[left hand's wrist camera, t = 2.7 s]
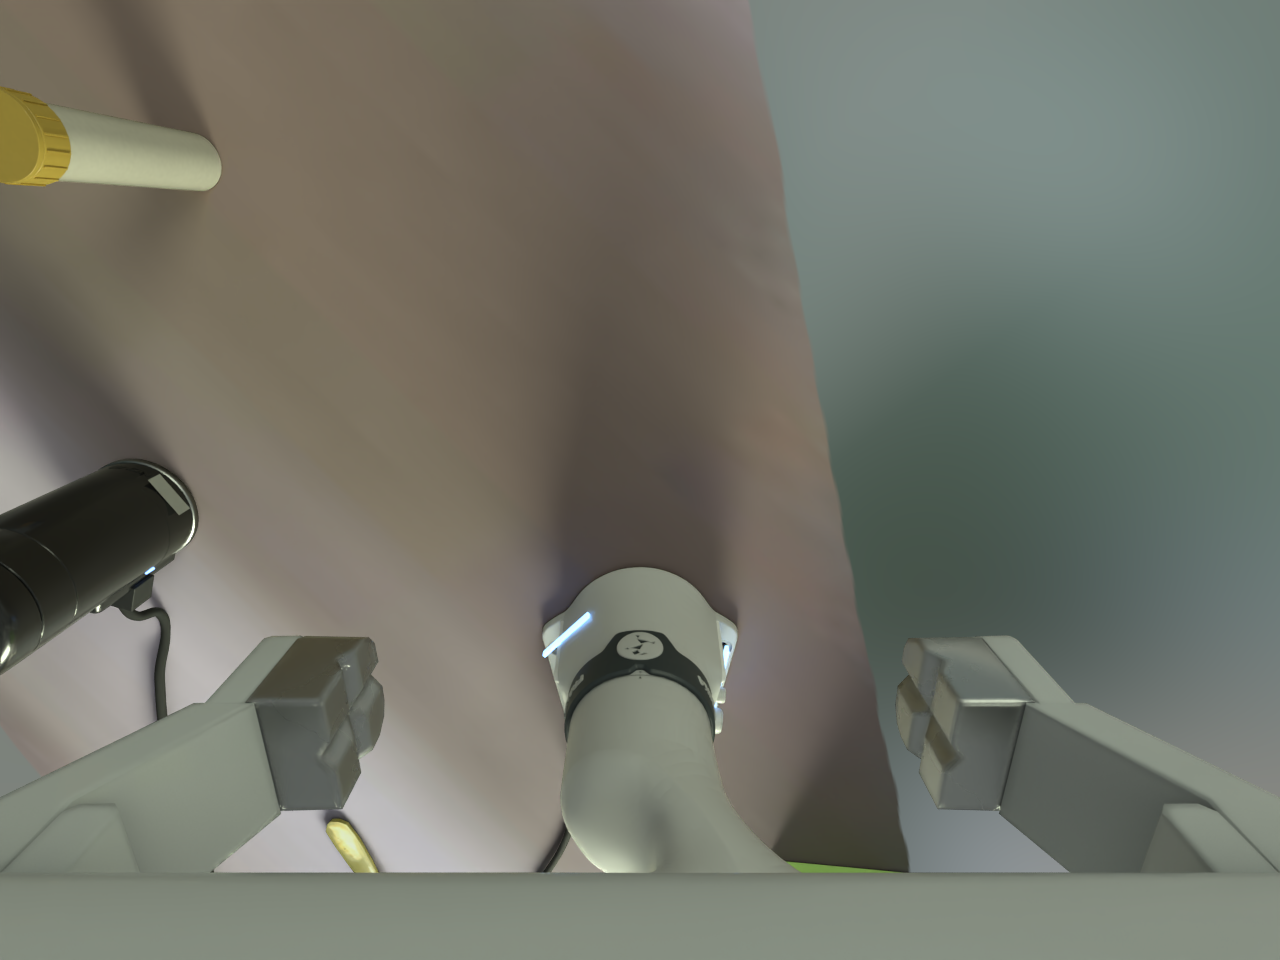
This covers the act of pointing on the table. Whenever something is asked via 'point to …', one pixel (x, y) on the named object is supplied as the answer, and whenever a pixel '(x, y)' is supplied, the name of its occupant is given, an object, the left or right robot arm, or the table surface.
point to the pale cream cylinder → (136, 153)
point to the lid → (31, 141)
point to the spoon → (350, 846)
